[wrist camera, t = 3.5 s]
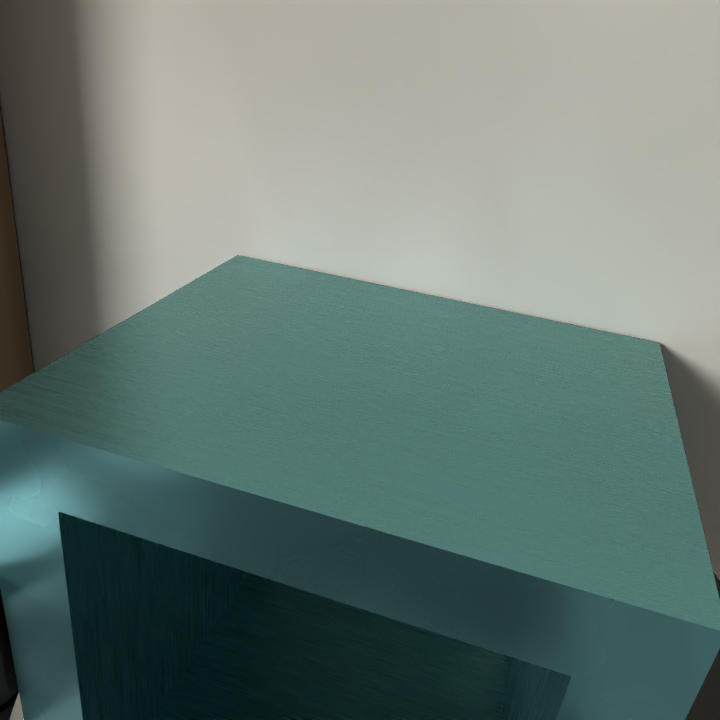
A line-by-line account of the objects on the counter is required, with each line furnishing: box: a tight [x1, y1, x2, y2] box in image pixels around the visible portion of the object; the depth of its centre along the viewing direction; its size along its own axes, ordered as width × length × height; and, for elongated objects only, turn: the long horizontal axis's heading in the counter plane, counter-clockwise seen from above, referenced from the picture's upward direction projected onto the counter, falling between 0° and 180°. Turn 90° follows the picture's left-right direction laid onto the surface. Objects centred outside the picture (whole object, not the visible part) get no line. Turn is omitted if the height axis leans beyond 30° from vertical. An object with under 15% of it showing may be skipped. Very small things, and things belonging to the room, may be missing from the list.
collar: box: [0, 255, 720, 720], centre depth 9 cm, size 6×6×5 cm
